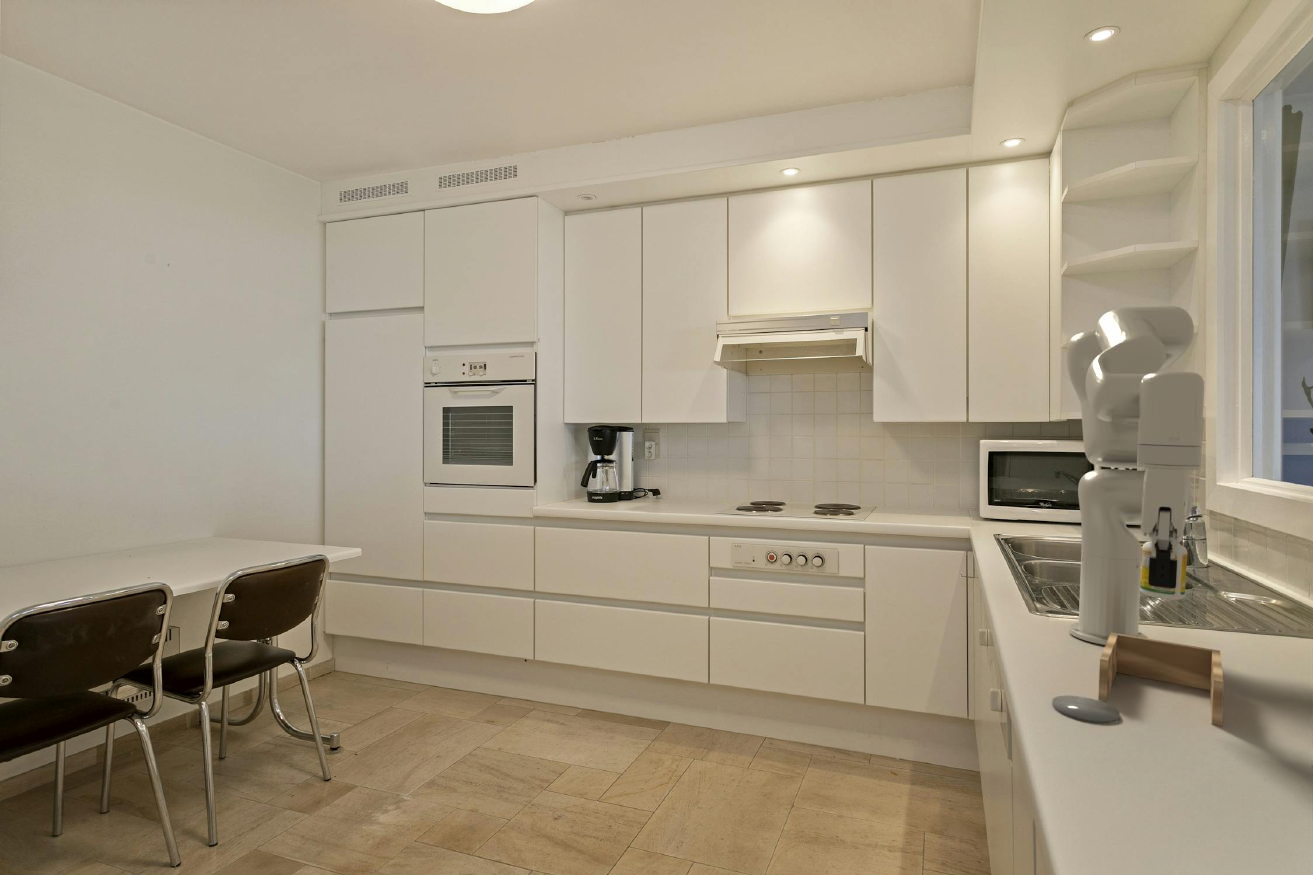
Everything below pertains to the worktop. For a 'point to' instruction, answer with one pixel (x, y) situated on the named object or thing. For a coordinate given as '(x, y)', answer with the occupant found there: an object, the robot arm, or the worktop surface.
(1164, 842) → the worktop surface
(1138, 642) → the wooden u-frame
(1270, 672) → the worktop surface
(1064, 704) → the slate coaster
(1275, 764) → the worktop surface
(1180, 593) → the supplement bottle
